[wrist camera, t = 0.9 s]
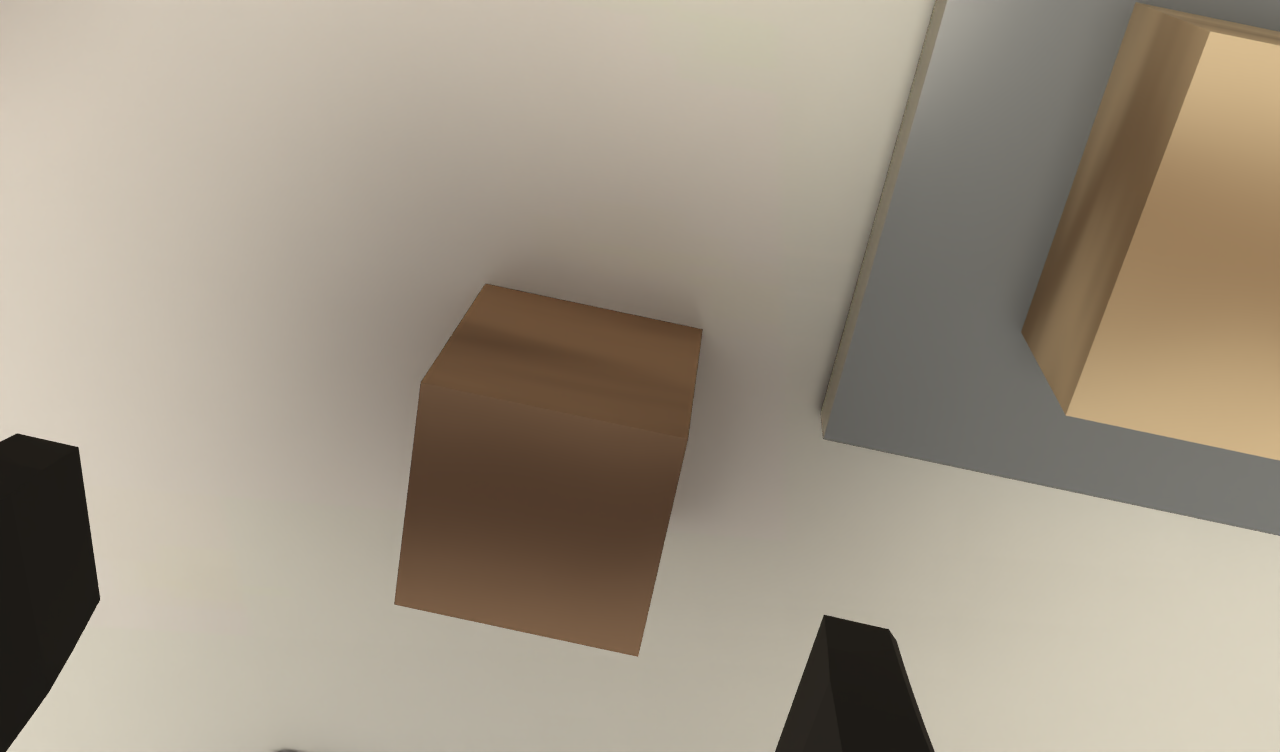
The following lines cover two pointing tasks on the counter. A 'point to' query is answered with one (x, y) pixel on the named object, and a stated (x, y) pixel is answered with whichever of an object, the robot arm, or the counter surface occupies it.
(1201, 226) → the oak block
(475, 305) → the walnut block
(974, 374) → the slate base
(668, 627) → the counter surface
